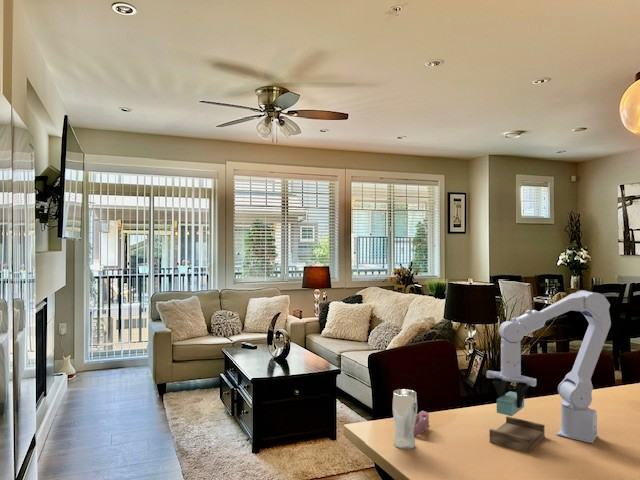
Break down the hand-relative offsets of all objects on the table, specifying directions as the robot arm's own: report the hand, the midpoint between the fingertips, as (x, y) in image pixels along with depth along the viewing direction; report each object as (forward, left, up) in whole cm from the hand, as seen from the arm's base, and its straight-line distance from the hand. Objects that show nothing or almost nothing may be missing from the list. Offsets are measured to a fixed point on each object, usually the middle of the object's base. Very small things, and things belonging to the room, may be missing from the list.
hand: (510, 405), depth 145 cm
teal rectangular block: (0, 0, -1) cm, 1 cm away
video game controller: (+22, +18, -9) cm, 29 cm away
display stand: (-3, +4, -8) cm, 10 cm away
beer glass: (+20, +30, -9) cm, 37 cm away
